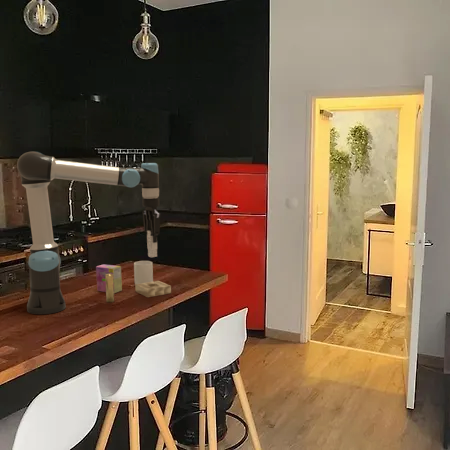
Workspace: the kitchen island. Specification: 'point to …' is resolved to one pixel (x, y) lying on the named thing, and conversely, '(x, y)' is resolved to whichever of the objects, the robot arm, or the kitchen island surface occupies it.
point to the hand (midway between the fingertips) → (152, 248)
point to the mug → (143, 272)
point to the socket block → (153, 288)
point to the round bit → (109, 288)
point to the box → (101, 277)
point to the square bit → (150, 252)
